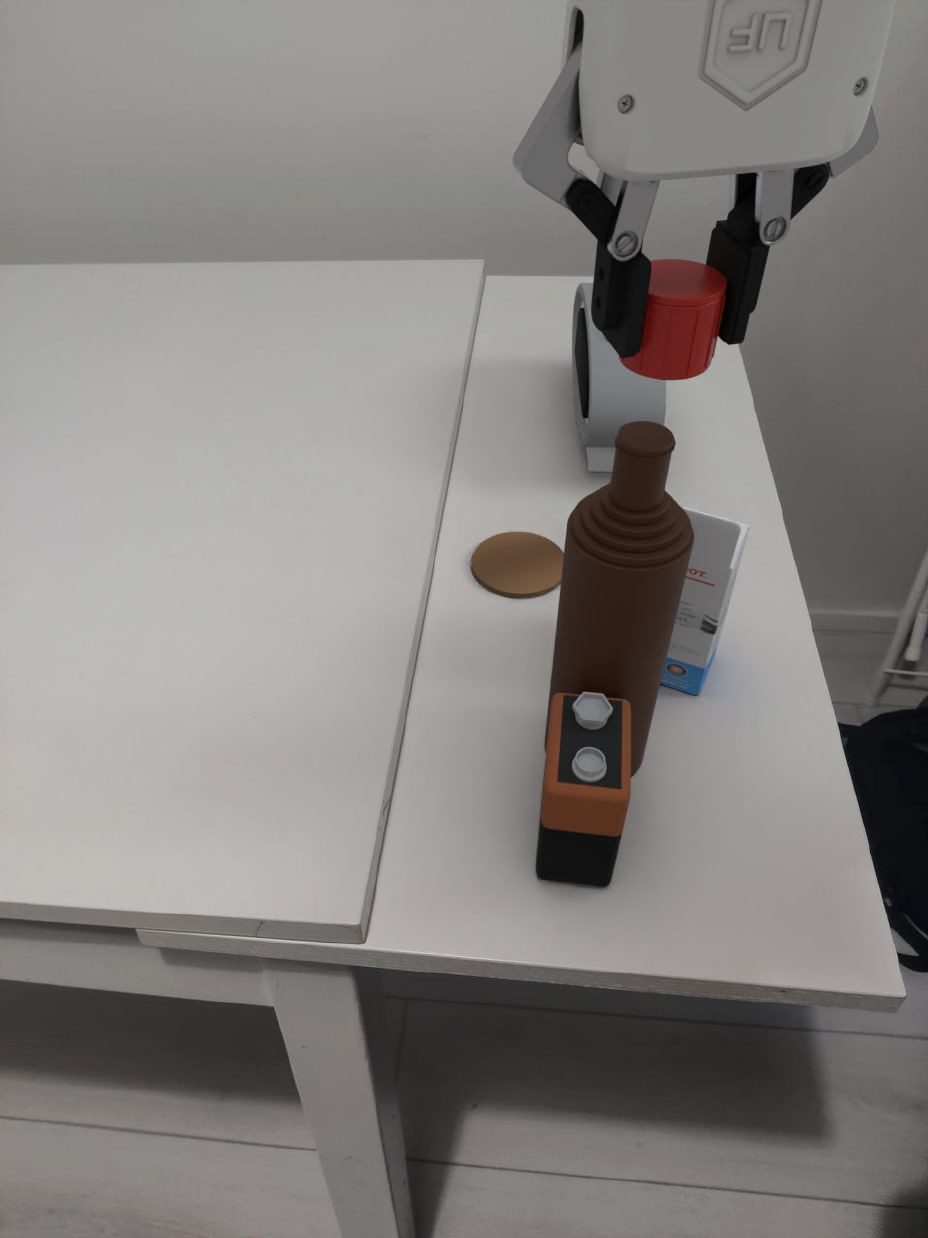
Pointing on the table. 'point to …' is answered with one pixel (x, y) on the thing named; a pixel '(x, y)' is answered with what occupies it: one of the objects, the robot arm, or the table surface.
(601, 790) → the battery
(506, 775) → the table surface
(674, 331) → the cap
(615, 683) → the bottle
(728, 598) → the ink box
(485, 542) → the coaster
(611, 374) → the alarm clock
